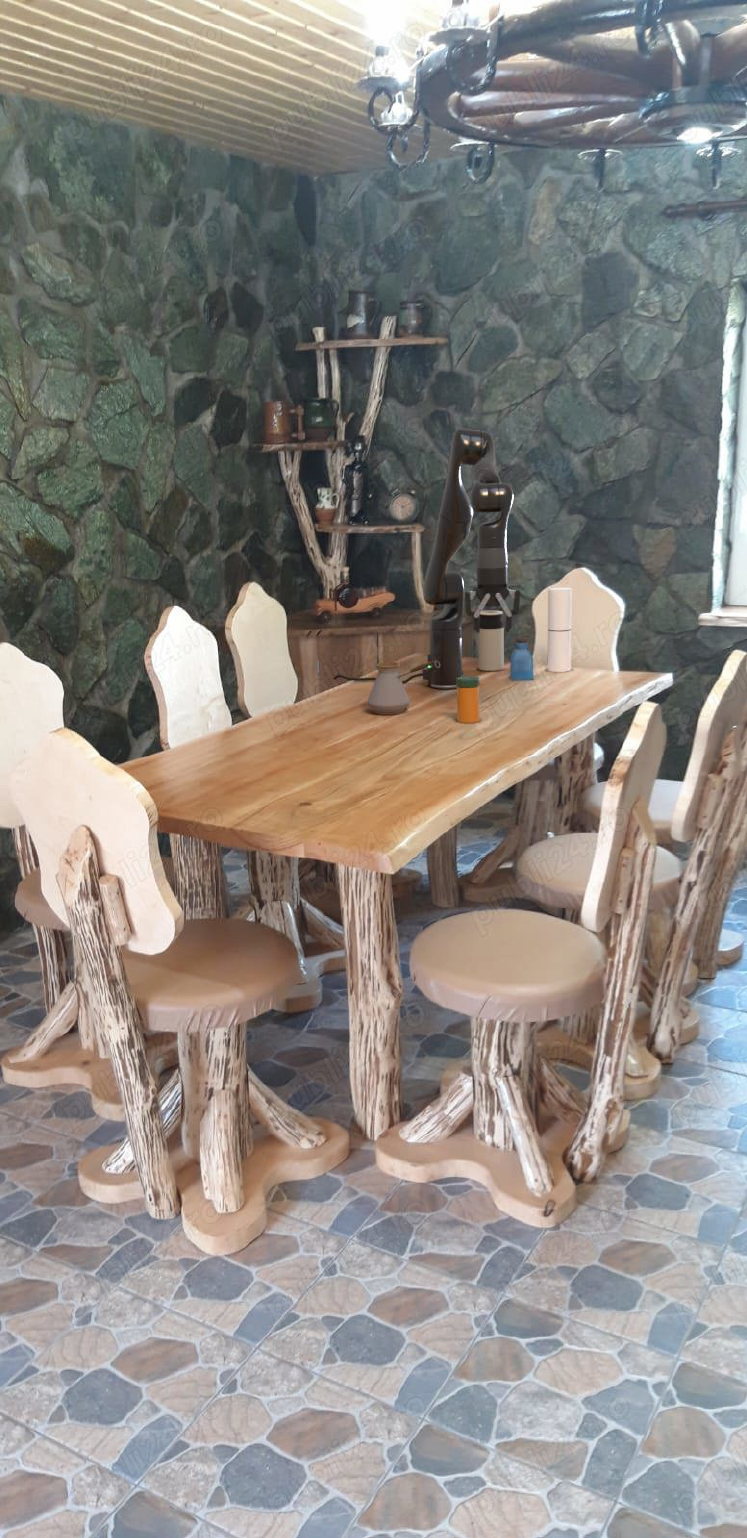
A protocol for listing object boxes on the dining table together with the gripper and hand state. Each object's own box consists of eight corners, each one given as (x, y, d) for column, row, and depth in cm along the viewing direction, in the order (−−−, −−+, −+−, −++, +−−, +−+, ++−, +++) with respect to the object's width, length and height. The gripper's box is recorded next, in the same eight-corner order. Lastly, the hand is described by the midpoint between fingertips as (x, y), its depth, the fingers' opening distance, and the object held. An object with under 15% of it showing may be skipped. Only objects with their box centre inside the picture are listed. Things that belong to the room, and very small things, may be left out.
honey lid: (452, 686, 298) (452, 679, 298) (462, 682, 303) (462, 675, 303) (473, 688, 295) (473, 681, 295) (483, 683, 300) (483, 677, 300)
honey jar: (453, 721, 301) (452, 680, 298) (463, 717, 305) (462, 677, 303) (473, 723, 298) (472, 682, 295) (482, 719, 302) (482, 678, 300)
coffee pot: (359, 713, 313) (357, 658, 309) (382, 705, 322) (381, 651, 318) (428, 721, 302) (427, 663, 298) (450, 713, 311) (450, 656, 307)
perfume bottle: (533, 679, 352) (533, 639, 349) (512, 680, 352) (512, 640, 349) (530, 675, 358) (531, 636, 355) (510, 676, 358) (510, 637, 355)
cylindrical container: (547, 671, 363) (547, 590, 357) (547, 667, 370) (548, 587, 364) (570, 671, 362) (571, 590, 356) (570, 667, 369) (571, 587, 362)
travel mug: (486, 672, 366) (485, 614, 361) (473, 668, 373) (473, 611, 368) (508, 669, 369) (508, 612, 364) (495, 666, 376) (495, 609, 371)
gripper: (519, 563, 297) (519, 628, 301) (462, 565, 297) (462, 630, 301) (522, 565, 290) (522, 633, 294) (464, 567, 290) (465, 635, 294)
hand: (492, 631), depth 298 cm, fingers open, 7 cm apart
